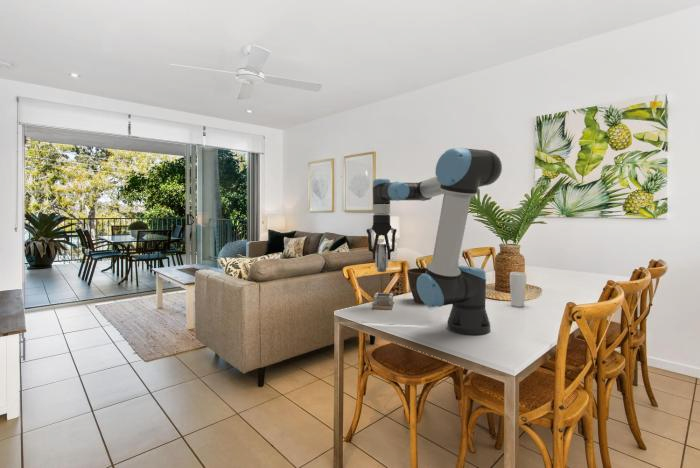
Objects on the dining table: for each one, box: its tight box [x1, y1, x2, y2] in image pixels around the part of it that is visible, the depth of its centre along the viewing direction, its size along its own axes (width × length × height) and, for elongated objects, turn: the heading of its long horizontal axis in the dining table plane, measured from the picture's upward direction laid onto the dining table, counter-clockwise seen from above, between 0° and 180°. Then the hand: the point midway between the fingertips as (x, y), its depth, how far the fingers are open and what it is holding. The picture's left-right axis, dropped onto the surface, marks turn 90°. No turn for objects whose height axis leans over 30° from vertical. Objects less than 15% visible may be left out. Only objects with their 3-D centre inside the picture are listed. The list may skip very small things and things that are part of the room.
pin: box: [376, 243, 387, 273], centre depth 162 cm, size 4×4×12 cm
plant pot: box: [406, 267, 426, 305], centre depth 171 cm, size 15×15×16 cm
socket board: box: [370, 292, 395, 311], centre depth 166 cm, size 15×9×5 cm, turn 169°
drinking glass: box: [509, 271, 527, 308], centre depth 166 cm, size 7×7×15 cm
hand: (381, 267), depth 163 cm, fingers closed on pin, 4 cm apart
